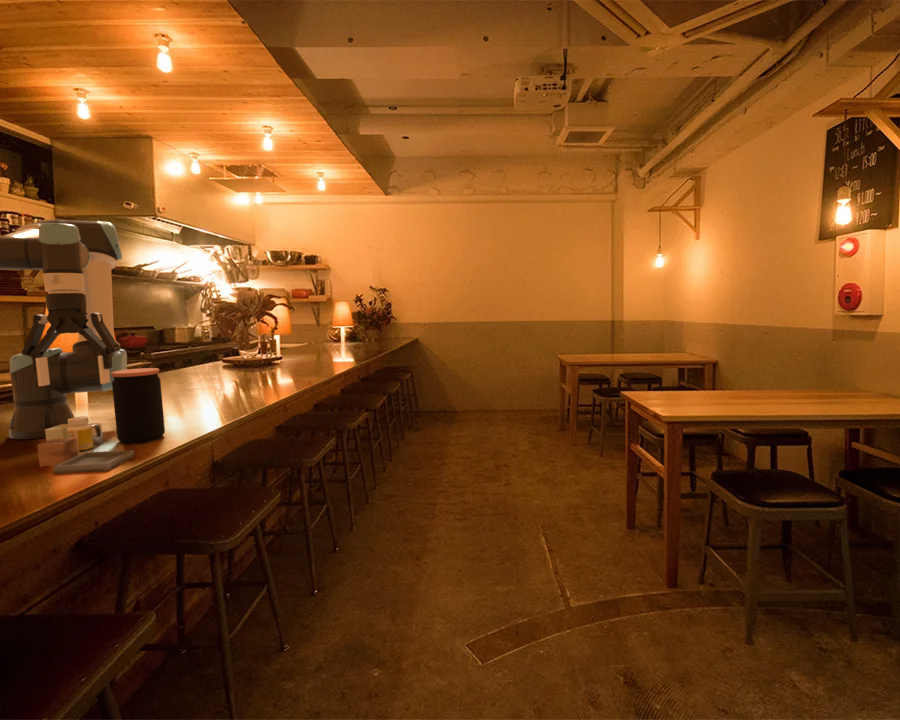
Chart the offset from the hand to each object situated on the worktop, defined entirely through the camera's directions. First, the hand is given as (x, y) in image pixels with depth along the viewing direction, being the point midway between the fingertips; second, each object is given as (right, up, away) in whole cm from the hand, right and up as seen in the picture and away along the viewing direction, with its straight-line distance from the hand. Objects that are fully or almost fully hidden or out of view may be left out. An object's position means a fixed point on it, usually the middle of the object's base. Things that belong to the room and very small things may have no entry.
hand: (75, 384), depth 123 cm
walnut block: (+1, -17, -6) cm, 18 cm away
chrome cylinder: (-2, -16, +9) cm, 18 cm away
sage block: (-9, -16, +9) cm, 21 cm away
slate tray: (+11, -17, -8) cm, 22 cm away
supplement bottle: (0, -17, +2) cm, 17 cm away
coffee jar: (+8, -15, +13) cm, 22 cm away
